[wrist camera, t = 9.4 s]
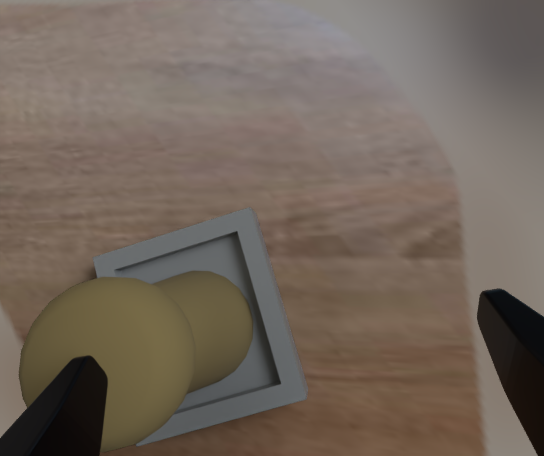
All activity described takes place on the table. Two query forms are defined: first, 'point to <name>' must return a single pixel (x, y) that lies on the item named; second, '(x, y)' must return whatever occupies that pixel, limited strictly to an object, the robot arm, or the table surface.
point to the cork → (141, 344)
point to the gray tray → (263, 304)
